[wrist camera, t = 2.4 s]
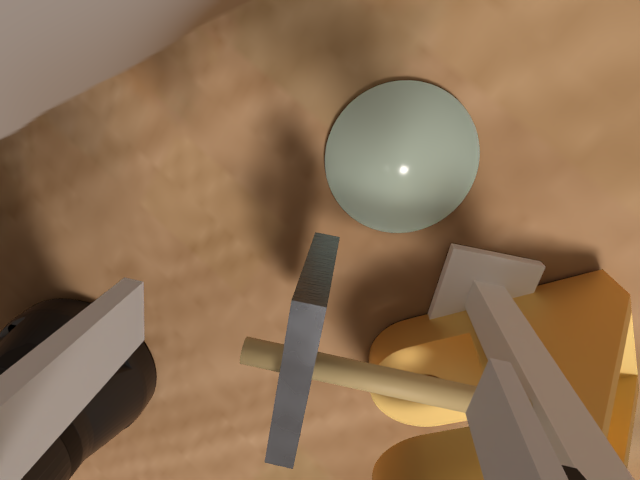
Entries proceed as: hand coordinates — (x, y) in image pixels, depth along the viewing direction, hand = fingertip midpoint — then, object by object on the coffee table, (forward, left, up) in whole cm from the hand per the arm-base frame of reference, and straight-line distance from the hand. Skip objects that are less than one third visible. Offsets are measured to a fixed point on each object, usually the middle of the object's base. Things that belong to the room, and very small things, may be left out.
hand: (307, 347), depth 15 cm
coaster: (+4, +5, -17) cm, 18 cm away
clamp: (+14, -10, -18) cm, 25 cm away
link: (0, -4, -10) cm, 11 cm away
